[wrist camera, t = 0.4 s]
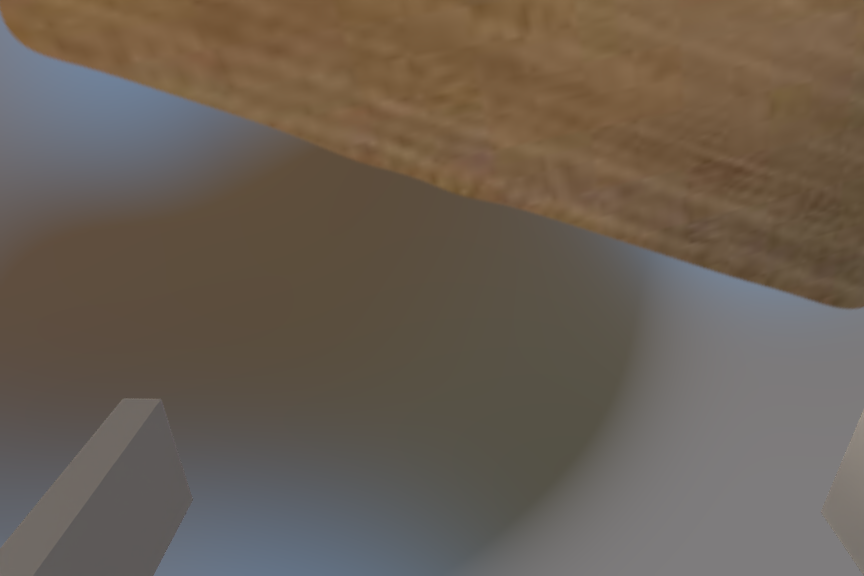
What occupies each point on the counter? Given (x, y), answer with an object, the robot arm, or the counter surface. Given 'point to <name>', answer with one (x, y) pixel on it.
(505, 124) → the counter surface
